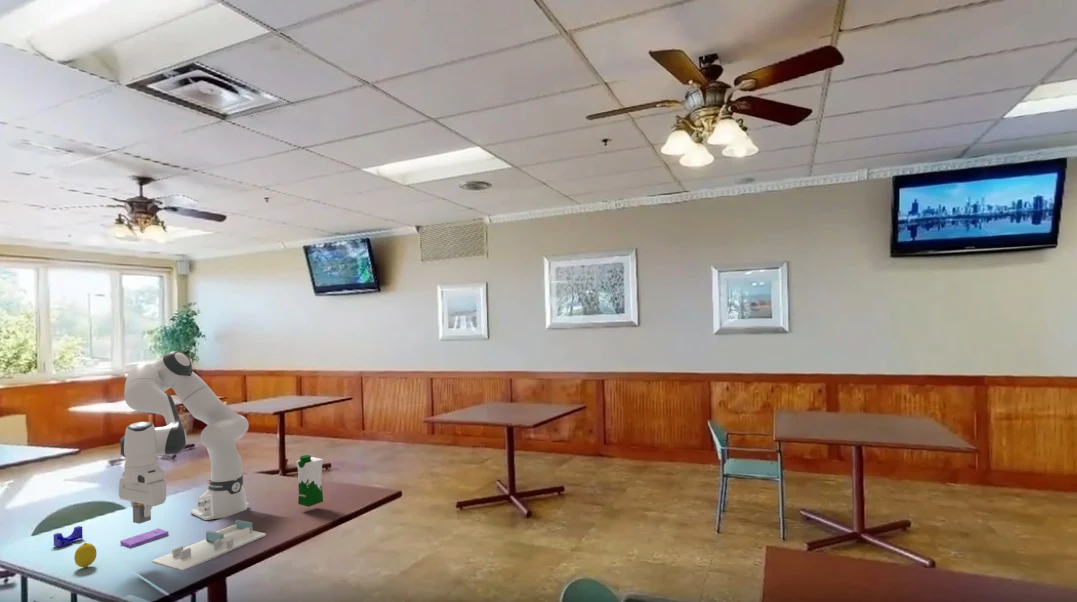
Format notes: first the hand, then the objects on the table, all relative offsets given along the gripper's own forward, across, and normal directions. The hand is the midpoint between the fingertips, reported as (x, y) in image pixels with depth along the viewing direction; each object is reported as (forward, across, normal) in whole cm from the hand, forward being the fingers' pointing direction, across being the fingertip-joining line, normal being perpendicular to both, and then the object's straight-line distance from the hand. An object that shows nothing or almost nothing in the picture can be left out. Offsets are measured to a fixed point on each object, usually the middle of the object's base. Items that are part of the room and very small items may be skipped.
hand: (142, 515), depth 184 cm
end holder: (+14, +10, +24) cm, 29 cm away
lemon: (+15, -13, -10) cm, 22 cm away
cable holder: (+15, -43, -1) cm, 46 cm away
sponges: (+16, -19, +11) cm, 27 cm away
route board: (+15, +12, +16) cm, 25 cm away
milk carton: (+15, +8, +62) cm, 64 cm away
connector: (+2, 0, 0) cm, 2 cm away
